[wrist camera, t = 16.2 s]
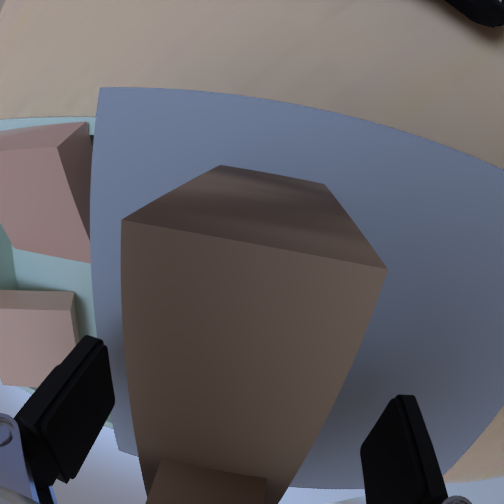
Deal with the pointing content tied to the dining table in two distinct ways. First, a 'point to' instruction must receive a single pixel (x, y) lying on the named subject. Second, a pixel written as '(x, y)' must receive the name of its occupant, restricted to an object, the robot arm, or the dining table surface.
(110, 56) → the dining table surface
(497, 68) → the dining table surface
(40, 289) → the tray
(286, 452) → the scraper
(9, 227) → the tile
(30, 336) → the tile
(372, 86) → the dining table surface
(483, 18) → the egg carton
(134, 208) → the board
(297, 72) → the dining table surface
